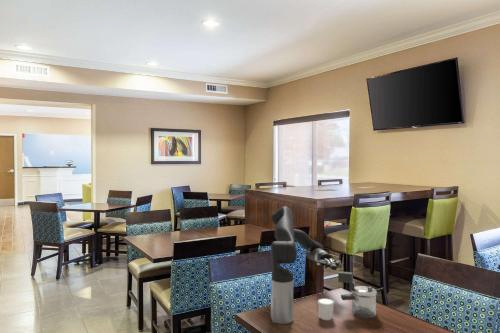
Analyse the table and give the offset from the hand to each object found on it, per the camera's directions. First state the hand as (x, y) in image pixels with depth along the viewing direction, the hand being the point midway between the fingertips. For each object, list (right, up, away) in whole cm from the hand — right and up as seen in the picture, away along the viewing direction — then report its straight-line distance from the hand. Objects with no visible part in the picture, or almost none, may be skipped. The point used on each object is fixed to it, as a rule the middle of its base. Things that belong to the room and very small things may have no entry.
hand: (334, 268), depth 174 cm
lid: (+7, -7, -13) cm, 16 cm away
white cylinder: (-8, -16, -17) cm, 25 cm away
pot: (+7, -16, -14) cm, 22 cm away
